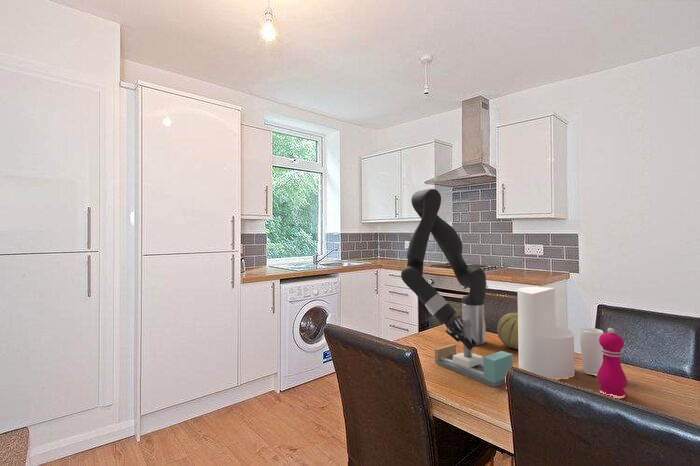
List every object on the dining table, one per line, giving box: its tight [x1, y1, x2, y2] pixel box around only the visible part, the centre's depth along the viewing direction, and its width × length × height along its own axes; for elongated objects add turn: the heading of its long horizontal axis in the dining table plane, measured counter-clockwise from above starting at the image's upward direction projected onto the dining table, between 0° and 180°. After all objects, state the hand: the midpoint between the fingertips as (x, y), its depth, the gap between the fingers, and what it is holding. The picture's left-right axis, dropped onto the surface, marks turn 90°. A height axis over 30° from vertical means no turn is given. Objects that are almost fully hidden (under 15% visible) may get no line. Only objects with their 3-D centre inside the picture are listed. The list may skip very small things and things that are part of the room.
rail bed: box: [434, 343, 514, 388], centre depth 123 cm, size 10×25×8 cm, turn 33°
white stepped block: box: [517, 286, 576, 381], centre depth 123 cm, size 17×17×28 cm
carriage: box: [453, 318, 484, 368], centre depth 124 cm, size 8×7×16 cm
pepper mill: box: [596, 327, 628, 400], centre depth 104 cm, size 7×7×20 cm
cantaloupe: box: [496, 312, 518, 350], centre depth 146 cm, size 15×15×15 cm
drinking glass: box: [579, 327, 604, 374], centre depth 119 cm, size 7×7×15 cm
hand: (473, 347), depth 123 cm, fingers closed on carriage, 3 cm apart
